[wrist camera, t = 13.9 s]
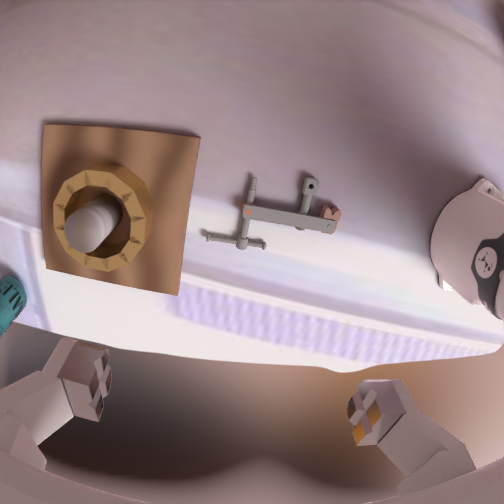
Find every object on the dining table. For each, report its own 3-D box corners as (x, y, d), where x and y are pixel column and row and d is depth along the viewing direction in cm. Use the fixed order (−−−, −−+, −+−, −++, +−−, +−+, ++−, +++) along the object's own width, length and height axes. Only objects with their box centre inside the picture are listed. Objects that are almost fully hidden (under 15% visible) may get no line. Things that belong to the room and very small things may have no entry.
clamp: (348, 188, 34) (326, 264, 39) (342, 183, 36) (322, 256, 41) (217, 162, 33) (204, 246, 37) (218, 159, 35) (206, 238, 39)
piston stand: (200, 137, 33) (189, 144, 25) (179, 289, 41) (167, 329, 34) (50, 123, 31) (10, 131, 23) (51, 263, 39) (21, 294, 31)
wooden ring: (159, 170, 33) (149, 177, 29) (150, 262, 38) (141, 278, 34) (70, 160, 31) (53, 166, 28) (69, 247, 36) (56, 260, 33)
